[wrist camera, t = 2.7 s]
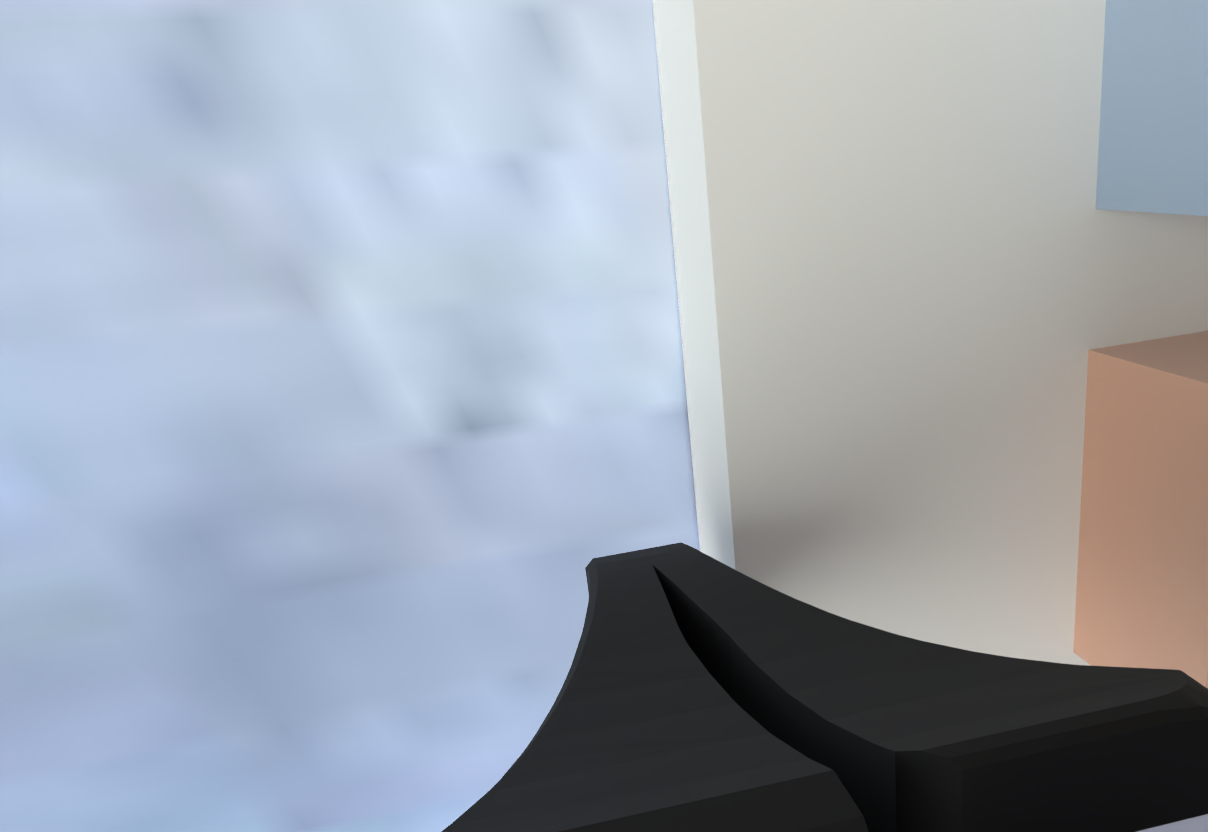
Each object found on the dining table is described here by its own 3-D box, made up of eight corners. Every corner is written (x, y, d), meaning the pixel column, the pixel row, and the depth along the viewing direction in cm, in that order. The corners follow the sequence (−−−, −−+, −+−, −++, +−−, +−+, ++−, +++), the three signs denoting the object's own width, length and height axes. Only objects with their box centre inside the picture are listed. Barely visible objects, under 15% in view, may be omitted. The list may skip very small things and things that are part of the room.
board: (1382, 606, 18) (1493, 658, 16) (717, 749, 16) (755, 829, 14) (1536, -342, 13) (1720, -429, 11) (625, -304, 11) (663, -397, 9)
